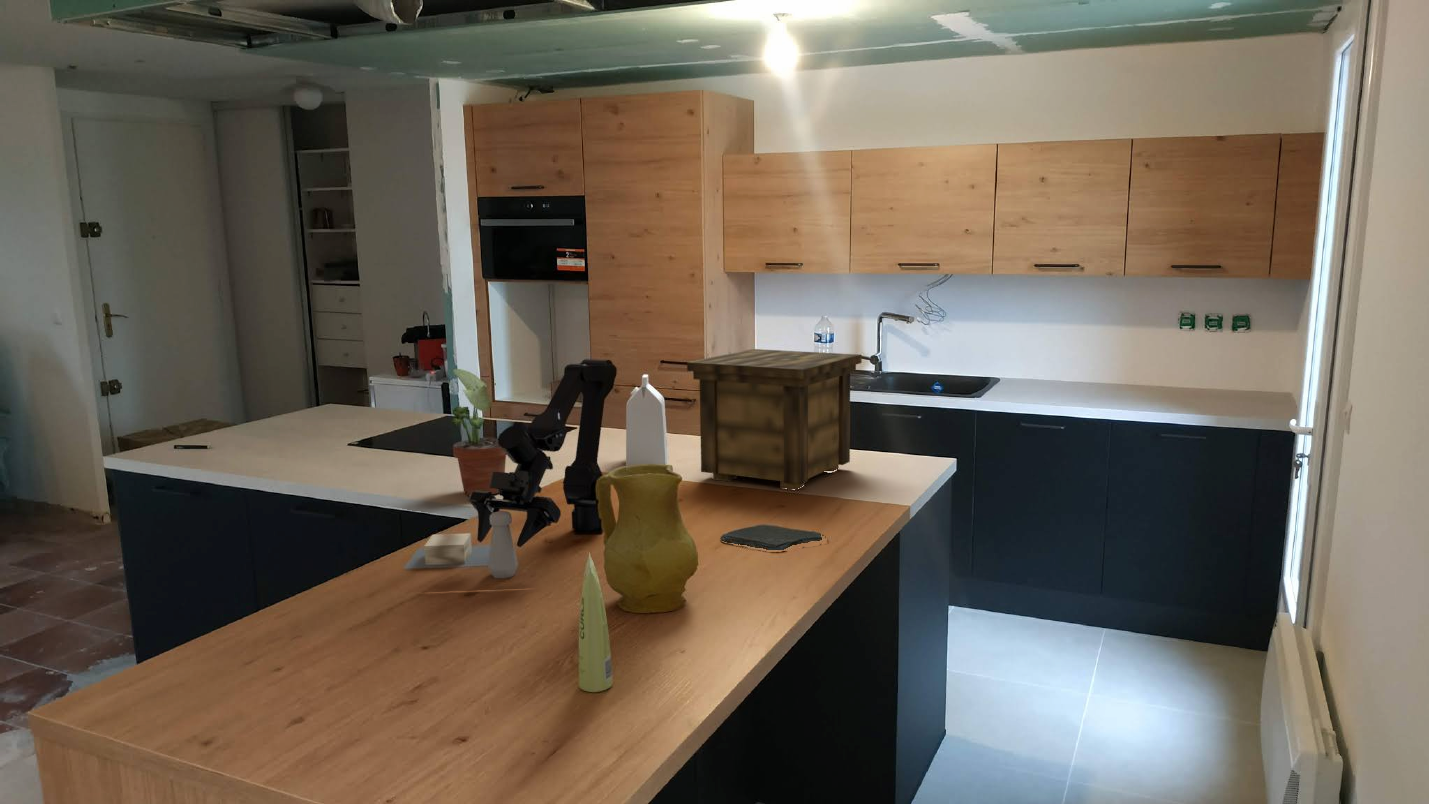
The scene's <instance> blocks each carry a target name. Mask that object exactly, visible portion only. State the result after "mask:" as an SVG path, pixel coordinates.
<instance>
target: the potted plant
mask: <svg viewBox="0 0 1429 804" xmlns="http://www.w3.org/2000/svg"><path fill="white" fill-rule="evenodd" d="M452 371H453V373H454V375H455V376H456V377H457V379H458V380H459V382H460V383H462V385H463V386H464V388H465V389H462V392H463V394H464V395H465V397H466V398H467V399H468V401H469V403H470V404H471V405H472V406H473V412H472V418H471V415H470V413H471V411H470V409H469V406H463V407H462V406H461V405H460V406H455V407H454V408H453V409H452V413H453V416H454V417H453V418H452V420H451V424H452V425H453V427H454V428H455V429H458V428H459V425H460V424H462V427H463V428H464V430H465V431H466V435H467V440H462V441H457V442H455V443H454V444H453V445H452V450H453V457H454V458H455V459H457V464H458V467H459V472H460V479H461V483H462V489H463V493H464V495H467V496H471V494H472V492H473V491H476V490H479V491H489V492H491V493H492V494H493V495H495V494H498V491H499V490H498V489H495V488H490V487H489V486H490V481H491V477H492V472H504V473H506V460H507V459H506V457H507V456H508V455H507V454H506V453H505V452H504V450H503V449H502V448H501V447H500V445H499V443H498V438H499V437H480V430H481V427H482V426H483V425H484V423H485V418H482V417H479V414H478V411H481V412H483V411H485V412H487V411H488V409H490V407H492V405H493V403H492V402H491V401H490V399H489V398H490V395H489V394H488V393H487V390H486V389H487V388H486V387H487V386H488V385H487V384H486V383H485V382H484V381H483V380H482V379H480V378H479V377H478V376H477V375H476V374H474V373H472V372H470V371H468V370H464V369H462V368H455V369H453V370H452ZM467 420H468V423H469V424H470V425H471V429H472V430H471V433H470V430H469V429H468V425H467Z"/></svg>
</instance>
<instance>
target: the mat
mask: <svg viewBox="0 0 1429 804" xmlns="http://www.w3.org/2000/svg"><path fill="white" fill-rule="evenodd" d="M490 546H491V544H490V545H489V544H488V545H487V544H485V545H472V552H471V554H470V556H469V557H468V559H467V561H466V563H465V564H436V565H425V552H424V547H418V548H417V550H416V551H415V552H414V554H413V555H412V556H411V558H410V559H409V561H407V563H406V564H405V566H404V567H403V570H413V569H438V568H439V569H441V568H444V569H445V568H468V567H469V568H470V567H474V568H475V567H488V561H489V553H490Z"/></svg>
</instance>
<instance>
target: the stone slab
mask: <svg viewBox="0 0 1429 804" xmlns="http://www.w3.org/2000/svg"><path fill="white" fill-rule="evenodd" d="M821 534H822V533H820V532H817V531H814V530H812V531H810V530H809V531H808V530H804V529H795V528H789V527H784V526H778V525H772V524H771V525H770V524H769V525H768V524H757V525H753V526H747V527H743V528H739V529H734V530H732V531H731V530H730V531H729V532H726V533H724V534H722V535H721V536H720V541H721V540H722V541H724V542H727V543H734V544H738V545H739V544H740V545H747V546H750V547H755V548H763V549H766V550H784V549H786V548H788V547H790V546H792V545H797V544H801V543H808V542H810V541H820V540H822V537H821ZM822 536H825V535H824V534H822ZM826 537H827V536H825V538H826Z"/></svg>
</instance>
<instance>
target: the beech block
mask: <svg viewBox="0 0 1429 804" xmlns="http://www.w3.org/2000/svg"><path fill="white" fill-rule="evenodd" d="M472 546H473V545H472V534H471V532H470V533H466V532H465V533H446V534H444V533H443V534H442V533H441V534H438V533H437V534H436V533H435V534H431V536H430V538H429V539H428V540H427V542H426V543H425V544H424V545H423V548H424V552H425V565H436V564H465V563H466V561H467V559H468V557H469V556H470V554H471V552H472Z"/></svg>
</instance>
